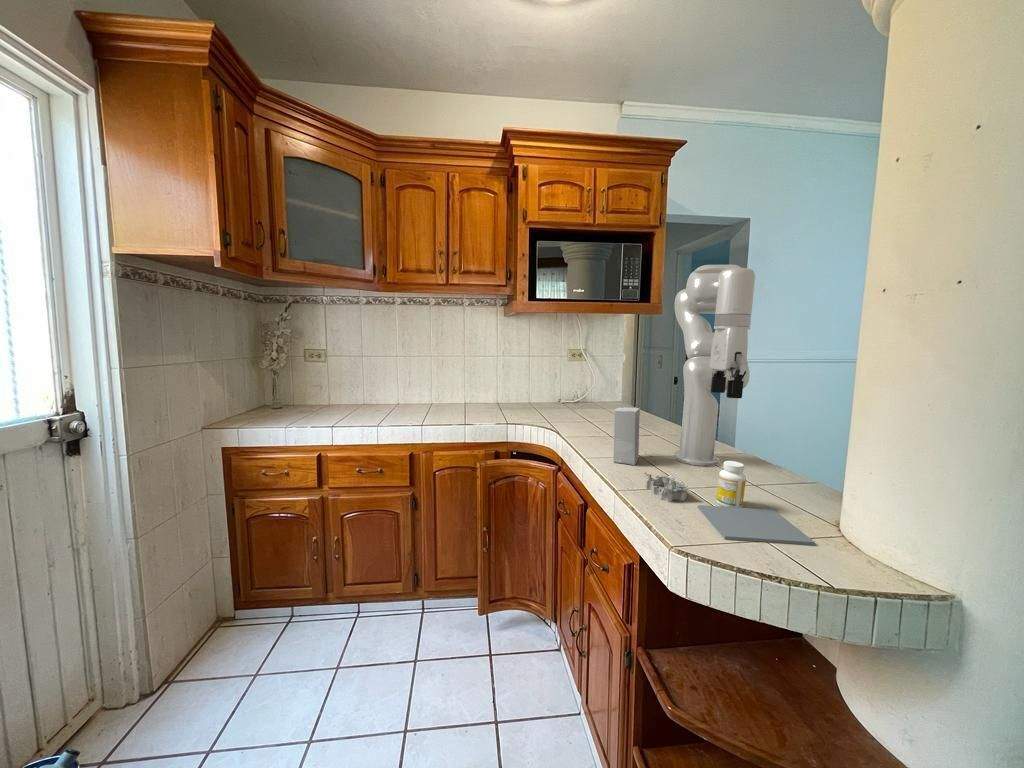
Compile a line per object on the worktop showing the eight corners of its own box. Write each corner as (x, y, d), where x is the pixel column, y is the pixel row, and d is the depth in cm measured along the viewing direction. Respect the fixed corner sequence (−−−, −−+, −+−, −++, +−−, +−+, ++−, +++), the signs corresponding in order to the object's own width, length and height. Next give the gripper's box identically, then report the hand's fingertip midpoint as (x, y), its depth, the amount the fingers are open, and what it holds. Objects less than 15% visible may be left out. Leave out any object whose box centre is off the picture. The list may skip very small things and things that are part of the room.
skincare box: (635, 466, 118) (638, 412, 116) (610, 462, 121) (613, 409, 119) (639, 458, 126) (642, 407, 124) (615, 454, 129) (618, 405, 127)
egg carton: (641, 486, 104) (642, 471, 103) (668, 485, 104) (669, 470, 104) (661, 503, 93) (662, 486, 93) (691, 502, 94) (692, 485, 94)
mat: (697, 507, 91) (698, 504, 91) (773, 512, 90) (773, 509, 90) (724, 539, 77) (725, 536, 77) (814, 545, 76) (815, 542, 76)
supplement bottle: (725, 509, 90) (729, 467, 89) (711, 499, 96) (715, 459, 94) (748, 509, 91) (752, 467, 90) (733, 499, 96) (737, 459, 95)
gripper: (702, 323, 106) (697, 389, 107) (730, 321, 88) (723, 399, 90) (733, 324, 105) (727, 391, 107) (767, 322, 88) (759, 401, 90)
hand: (725, 395), depth 99 cm, fingers open, 9 cm apart
